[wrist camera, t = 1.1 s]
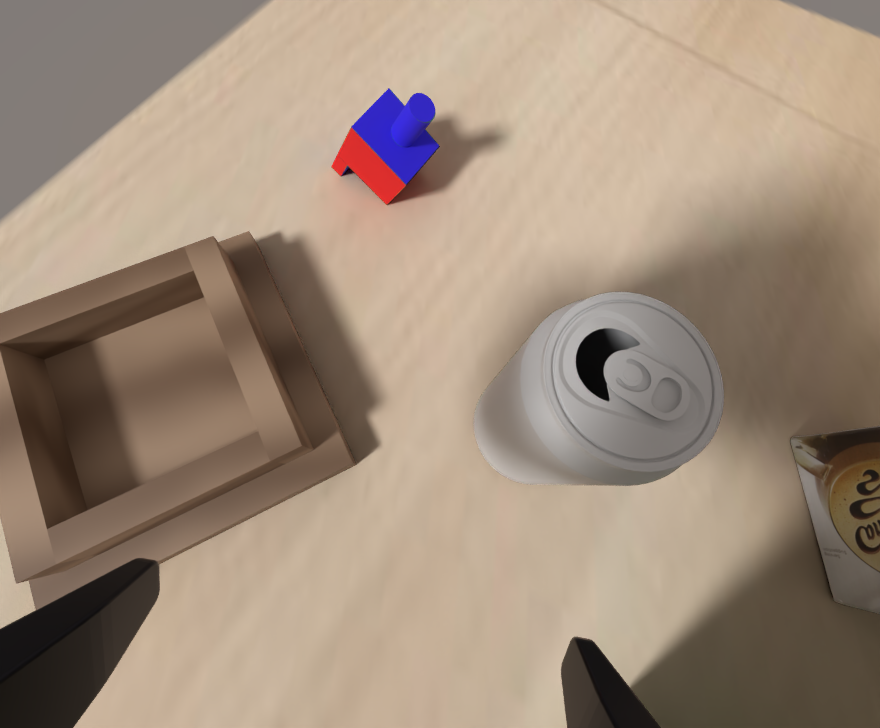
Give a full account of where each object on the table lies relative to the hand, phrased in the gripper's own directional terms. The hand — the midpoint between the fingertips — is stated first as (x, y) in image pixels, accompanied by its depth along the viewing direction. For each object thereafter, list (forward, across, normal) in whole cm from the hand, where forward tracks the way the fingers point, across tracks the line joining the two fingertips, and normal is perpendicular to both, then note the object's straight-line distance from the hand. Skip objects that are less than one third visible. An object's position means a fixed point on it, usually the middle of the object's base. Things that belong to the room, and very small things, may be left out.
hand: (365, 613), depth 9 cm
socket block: (+14, +13, +4) cm, 19 cm away
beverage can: (+15, -6, +2) cm, 17 cm away
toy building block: (+24, +5, -11) cm, 26 cm away
